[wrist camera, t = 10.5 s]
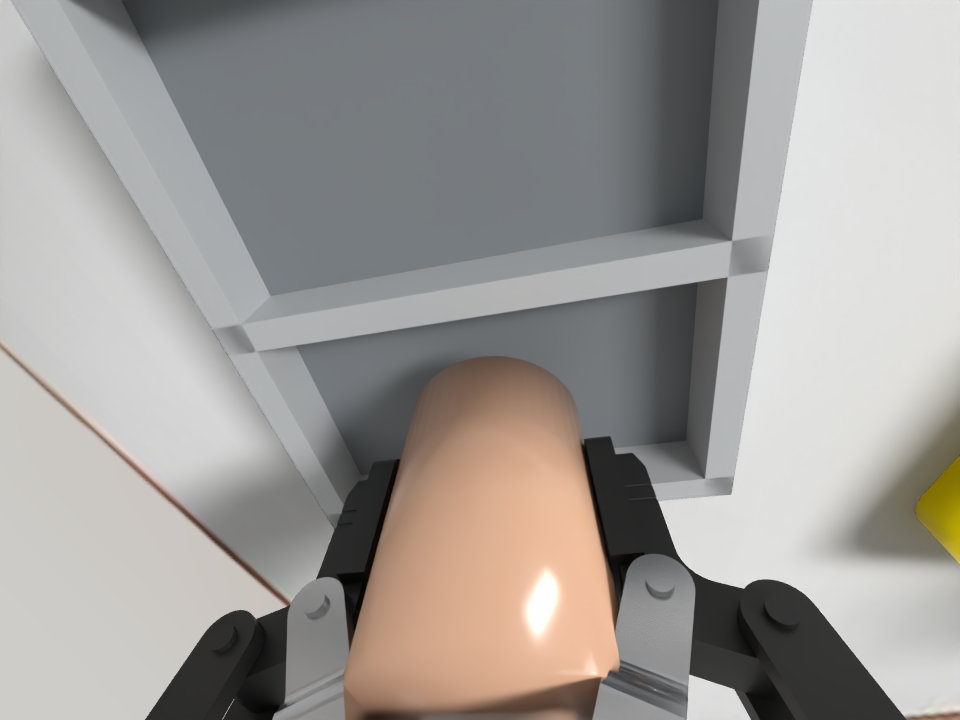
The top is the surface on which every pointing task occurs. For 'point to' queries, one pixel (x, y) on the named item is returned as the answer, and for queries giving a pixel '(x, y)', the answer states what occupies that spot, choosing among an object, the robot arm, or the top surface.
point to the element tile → (943, 509)
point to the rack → (457, 201)
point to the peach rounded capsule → (488, 559)
